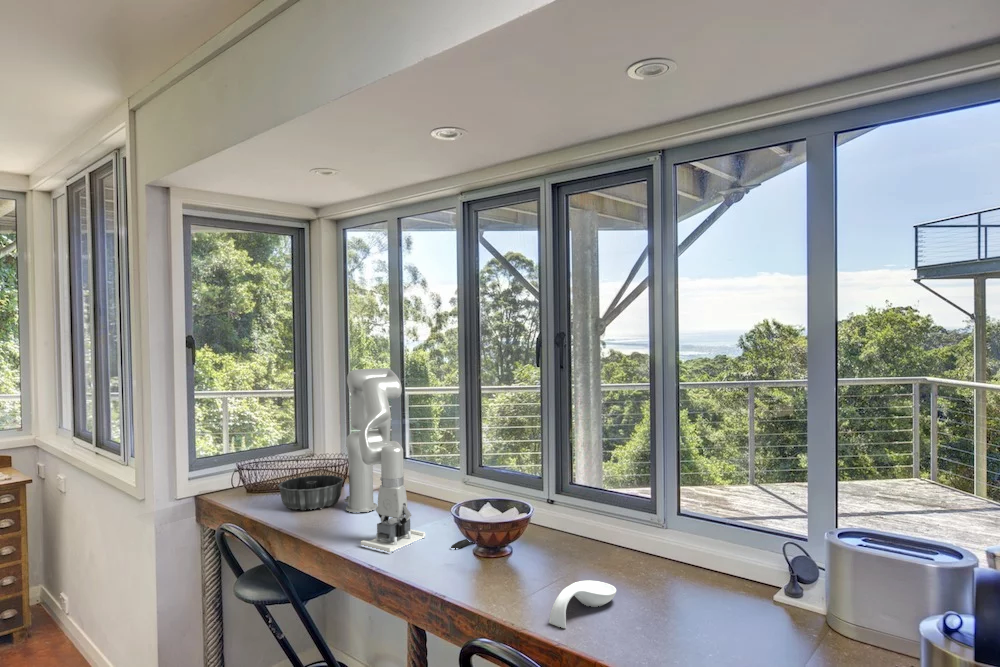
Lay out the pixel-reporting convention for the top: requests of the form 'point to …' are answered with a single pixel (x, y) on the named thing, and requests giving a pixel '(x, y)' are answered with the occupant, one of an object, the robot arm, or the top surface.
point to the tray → (395, 541)
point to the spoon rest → (580, 598)
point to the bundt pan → (311, 491)
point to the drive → (390, 529)
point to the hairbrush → (460, 544)
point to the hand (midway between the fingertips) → (393, 533)
